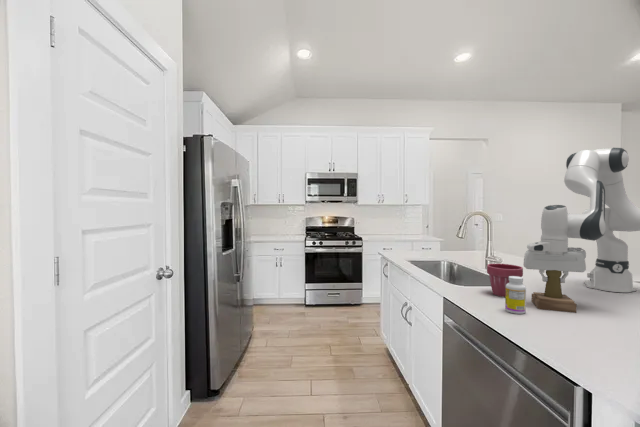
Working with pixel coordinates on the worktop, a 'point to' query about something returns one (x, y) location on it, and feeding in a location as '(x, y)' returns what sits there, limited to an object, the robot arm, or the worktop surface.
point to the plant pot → (502, 276)
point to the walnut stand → (553, 303)
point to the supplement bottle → (515, 295)
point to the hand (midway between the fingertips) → (553, 282)
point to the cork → (553, 284)
